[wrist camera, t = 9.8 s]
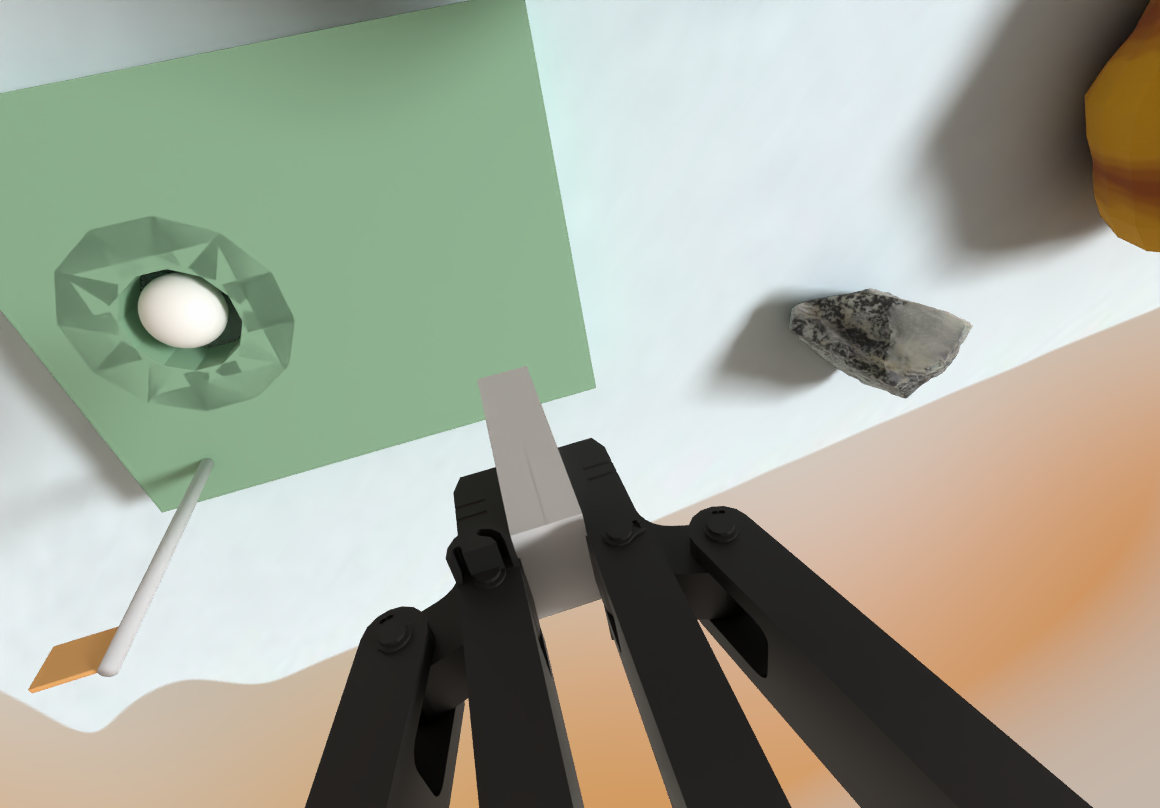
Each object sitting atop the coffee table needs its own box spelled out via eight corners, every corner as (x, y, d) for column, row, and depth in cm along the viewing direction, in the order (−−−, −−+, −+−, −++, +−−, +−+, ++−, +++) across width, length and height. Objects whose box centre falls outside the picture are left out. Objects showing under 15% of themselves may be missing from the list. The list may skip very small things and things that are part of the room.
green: (512, -6, 29) (613, -57, 15) (584, 367, 41) (677, 532, 27) (-96, 115, 26) (-698, 195, 12) (177, 482, 38) (43, 737, 24)
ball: (231, 265, 32) (184, 292, 33) (158, 255, 28) (109, 286, 30) (254, 333, 32) (207, 357, 33) (184, 332, 28) (134, 360, 30)
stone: (880, 432, 37) (1021, 342, 36) (788, 308, 39) (922, 216, 37) (839, 428, 47) (950, 357, 46) (766, 328, 48) (872, 256, 47)
